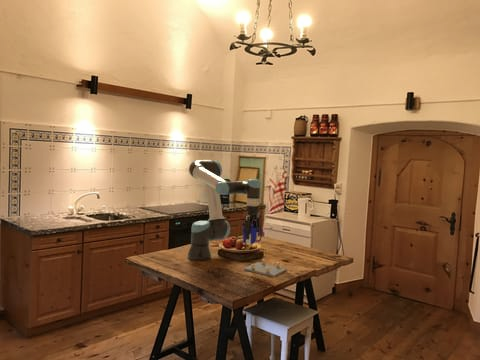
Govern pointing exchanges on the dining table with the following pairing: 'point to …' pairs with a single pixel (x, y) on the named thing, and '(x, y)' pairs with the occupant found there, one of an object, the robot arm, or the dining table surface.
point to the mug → (252, 235)
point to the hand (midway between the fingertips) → (251, 243)
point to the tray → (265, 269)
